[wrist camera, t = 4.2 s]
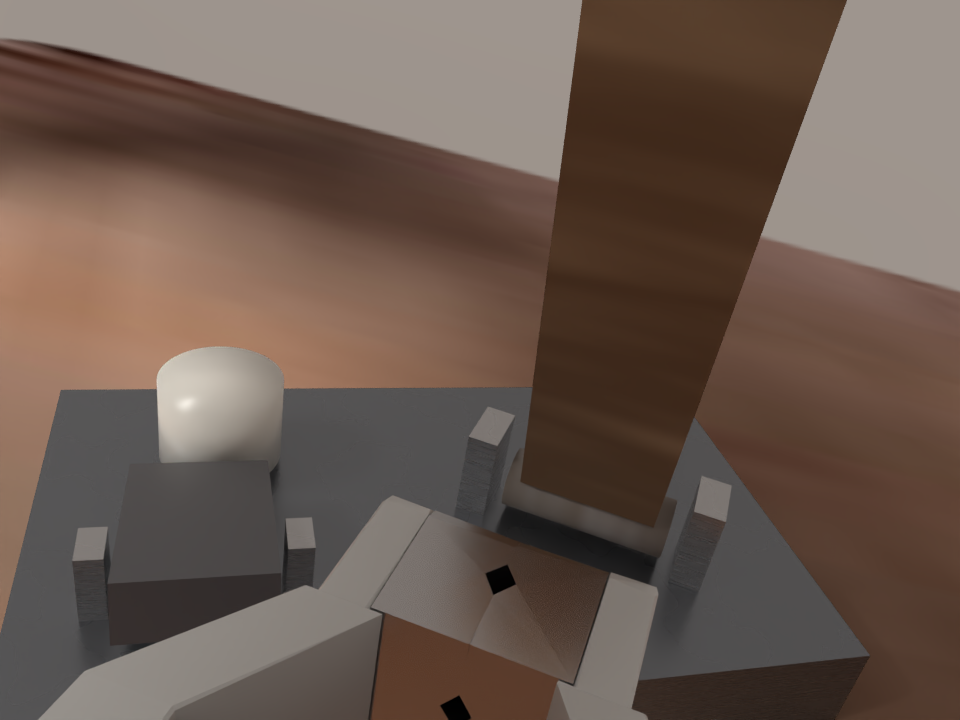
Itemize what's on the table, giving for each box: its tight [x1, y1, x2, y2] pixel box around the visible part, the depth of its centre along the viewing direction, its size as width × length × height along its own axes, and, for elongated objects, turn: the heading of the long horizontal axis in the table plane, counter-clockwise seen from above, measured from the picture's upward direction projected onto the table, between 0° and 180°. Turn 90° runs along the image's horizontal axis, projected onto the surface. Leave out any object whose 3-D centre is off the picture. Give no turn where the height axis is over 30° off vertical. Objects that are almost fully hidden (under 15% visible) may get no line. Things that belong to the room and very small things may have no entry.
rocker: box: [107, 460, 281, 646], centre depth 20 cm, size 5×3×1 cm, turn 14°
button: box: [157, 347, 284, 473], centre depth 24 cm, size 3×3×2 cm
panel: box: [0, 387, 870, 720], centre depth 24 cm, size 12×20×5 cm, turn 104°
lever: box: [502, 0, 847, 558], centre depth 17 cm, size 3×4×20 cm
